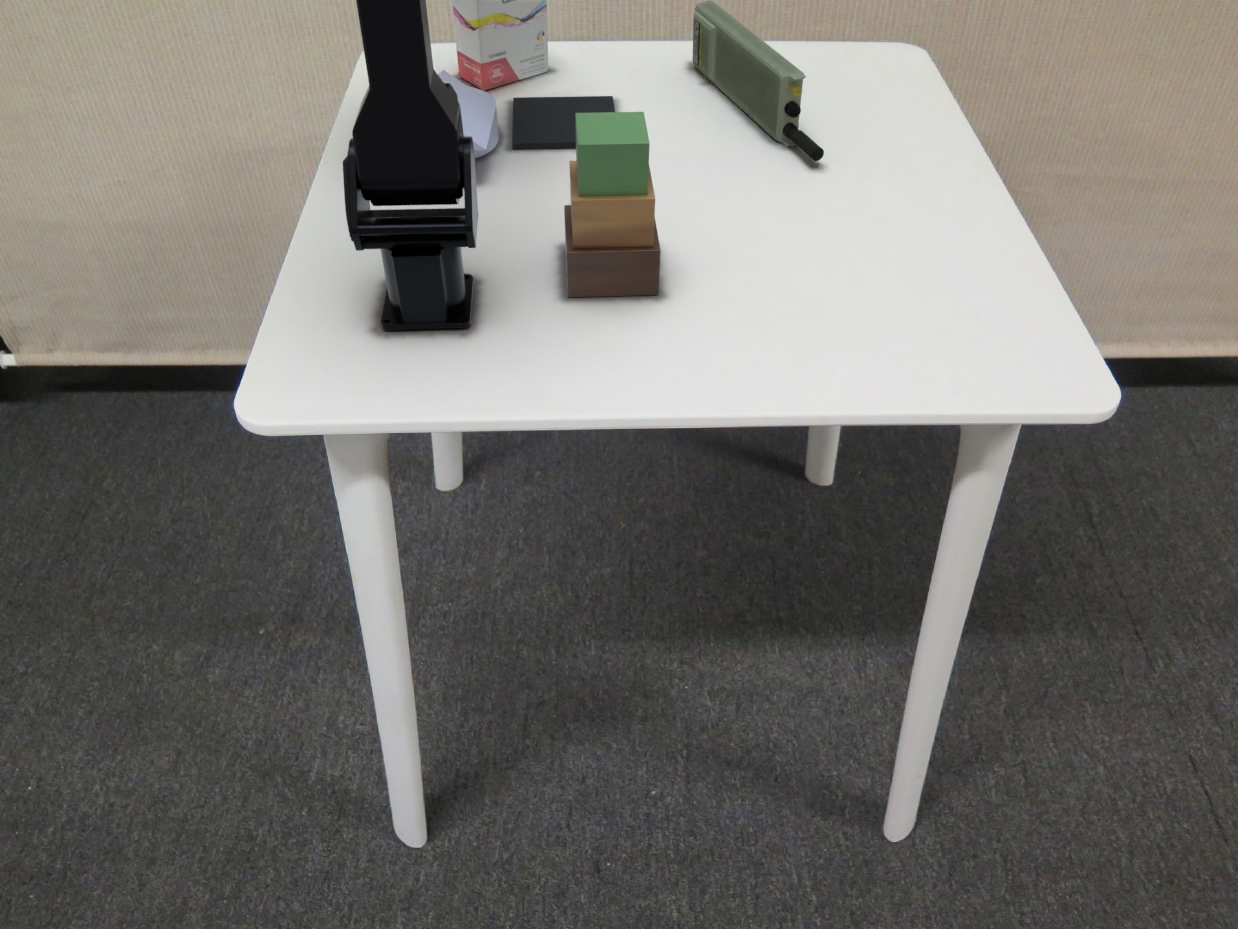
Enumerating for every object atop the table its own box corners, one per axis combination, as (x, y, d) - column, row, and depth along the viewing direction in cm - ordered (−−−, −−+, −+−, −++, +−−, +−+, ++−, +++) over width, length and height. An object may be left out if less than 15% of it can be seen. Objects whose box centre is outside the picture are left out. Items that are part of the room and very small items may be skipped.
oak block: (653, 246, 76) (655, 198, 73) (572, 248, 75) (571, 200, 72) (646, 205, 80) (648, 158, 77) (570, 207, 80) (569, 160, 77)
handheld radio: (716, 61, 110) (833, 164, 93) (688, 67, 109) (801, 172, 93) (718, -2, 105) (842, 94, 89) (689, 3, 105) (809, 101, 88)
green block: (647, 195, 73) (649, 142, 70) (578, 196, 73) (577, 144, 70) (642, 162, 77) (643, 111, 74) (576, 163, 76) (575, 112, 74)
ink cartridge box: (484, 92, 104) (471, -63, 94) (457, 77, 107) (442, -76, 96) (551, 71, 108) (546, -80, 98) (524, 56, 111) (516, -92, 100)
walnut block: (658, 295, 78) (660, 250, 75) (567, 297, 78) (566, 252, 75) (650, 246, 83) (652, 202, 80) (565, 248, 83) (564, 204, 80)
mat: (618, 147, 96) (618, 141, 95) (512, 149, 95) (512, 143, 95) (612, 101, 103) (612, 95, 102) (513, 102, 102) (513, 97, 102)
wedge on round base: (489, 185, 90) (503, 119, 99) (482, 112, 85) (498, 50, 95) (387, 183, 90) (411, 117, 99) (376, 110, 85) (401, 49, 95)
